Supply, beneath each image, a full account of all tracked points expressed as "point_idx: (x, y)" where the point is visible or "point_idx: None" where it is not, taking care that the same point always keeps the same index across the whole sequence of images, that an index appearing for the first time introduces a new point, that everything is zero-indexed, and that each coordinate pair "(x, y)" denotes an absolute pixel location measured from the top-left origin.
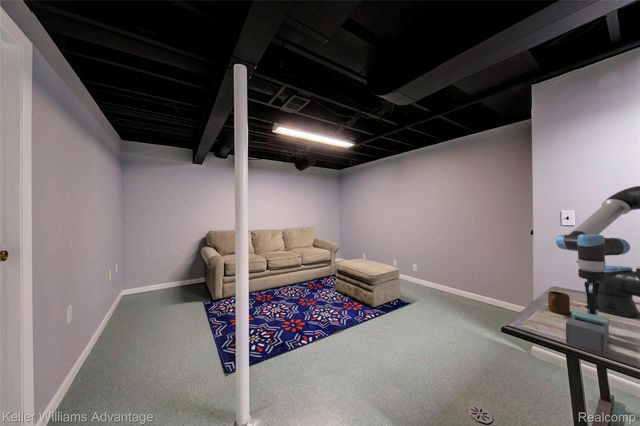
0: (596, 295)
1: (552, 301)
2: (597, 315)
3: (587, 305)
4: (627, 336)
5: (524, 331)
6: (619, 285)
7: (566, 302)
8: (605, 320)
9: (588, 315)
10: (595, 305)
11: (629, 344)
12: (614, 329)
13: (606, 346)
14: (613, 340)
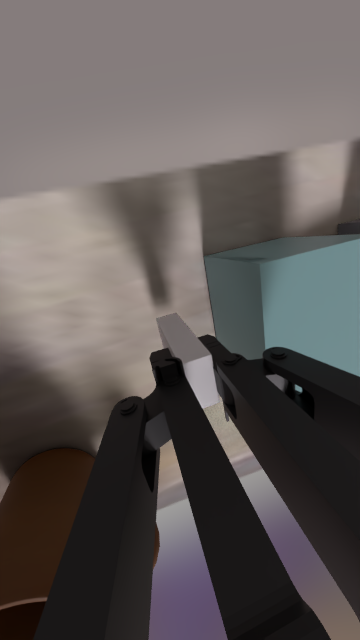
0: (263, 531)
1: (158, 535)
2: (264, 319)
3: (307, 404)
4: (100, 212)
5: None
6: None
7: (55, 526)
8: (336, 256)
9: (313, 340)
10: (329, 368)
11: (218, 180)
12: (47, 278)
13: (347, 223)
14: (230, 233)
